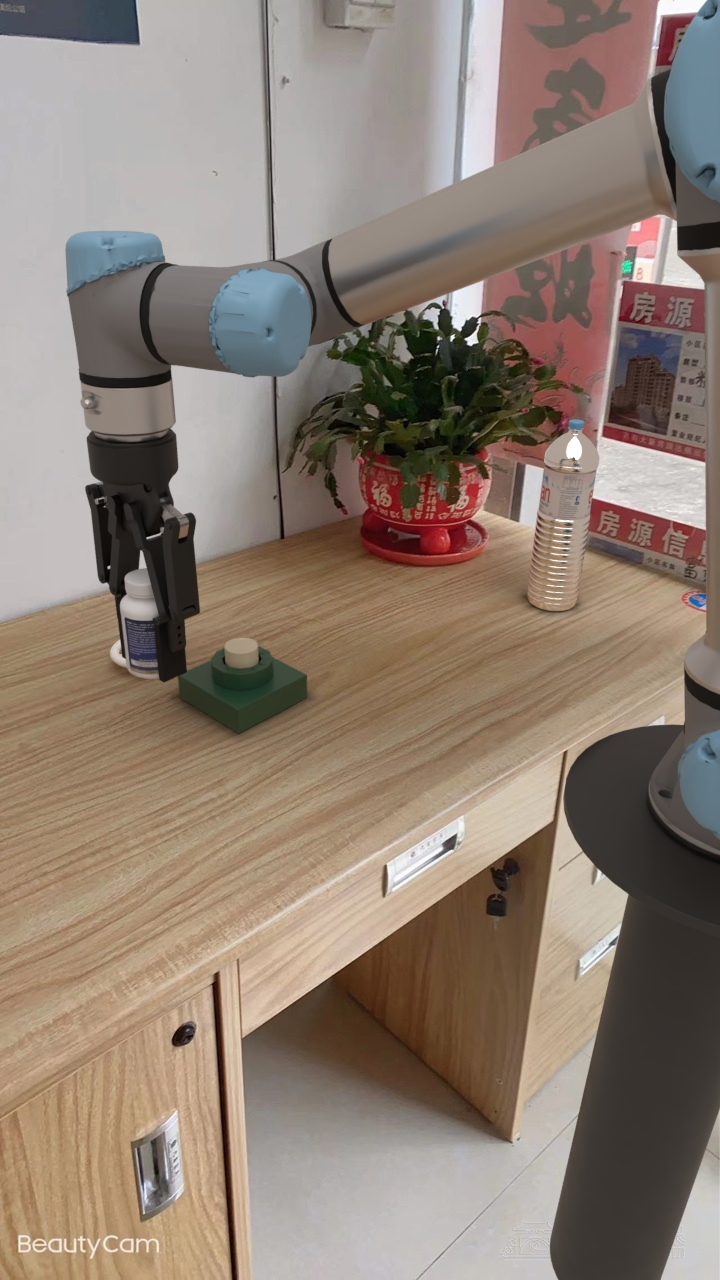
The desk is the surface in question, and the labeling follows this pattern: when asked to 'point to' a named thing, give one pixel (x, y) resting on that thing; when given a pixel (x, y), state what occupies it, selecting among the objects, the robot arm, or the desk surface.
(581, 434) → the water bottle
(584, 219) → the robot arm
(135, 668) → the pill bottle
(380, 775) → the desk surface
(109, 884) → the desk surface
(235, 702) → the green square peg base
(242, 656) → the cream cylindrical peg
